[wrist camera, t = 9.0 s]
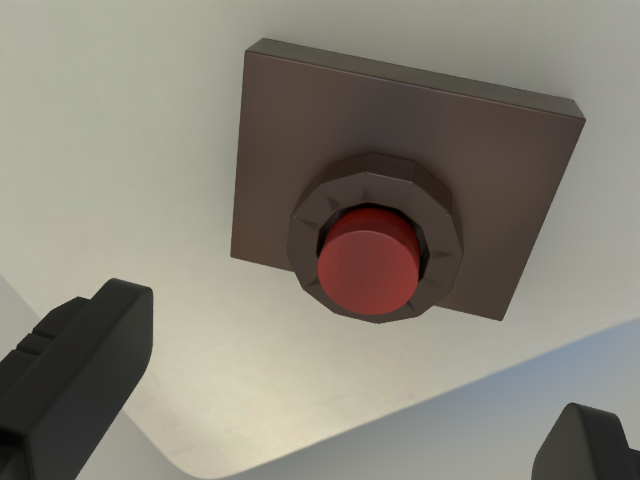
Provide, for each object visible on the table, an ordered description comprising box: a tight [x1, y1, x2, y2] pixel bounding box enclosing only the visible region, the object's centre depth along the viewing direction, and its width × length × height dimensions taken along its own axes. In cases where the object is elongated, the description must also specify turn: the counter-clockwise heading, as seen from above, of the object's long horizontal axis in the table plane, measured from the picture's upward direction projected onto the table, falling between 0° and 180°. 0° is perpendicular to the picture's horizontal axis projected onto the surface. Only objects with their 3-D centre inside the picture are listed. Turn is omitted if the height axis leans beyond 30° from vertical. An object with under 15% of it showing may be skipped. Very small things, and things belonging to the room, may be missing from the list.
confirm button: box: [317, 208, 421, 315], centre depth 21 cm, size 4×4×2 cm
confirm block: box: [230, 38, 586, 324], centre depth 22 cm, size 12×9×4 cm
